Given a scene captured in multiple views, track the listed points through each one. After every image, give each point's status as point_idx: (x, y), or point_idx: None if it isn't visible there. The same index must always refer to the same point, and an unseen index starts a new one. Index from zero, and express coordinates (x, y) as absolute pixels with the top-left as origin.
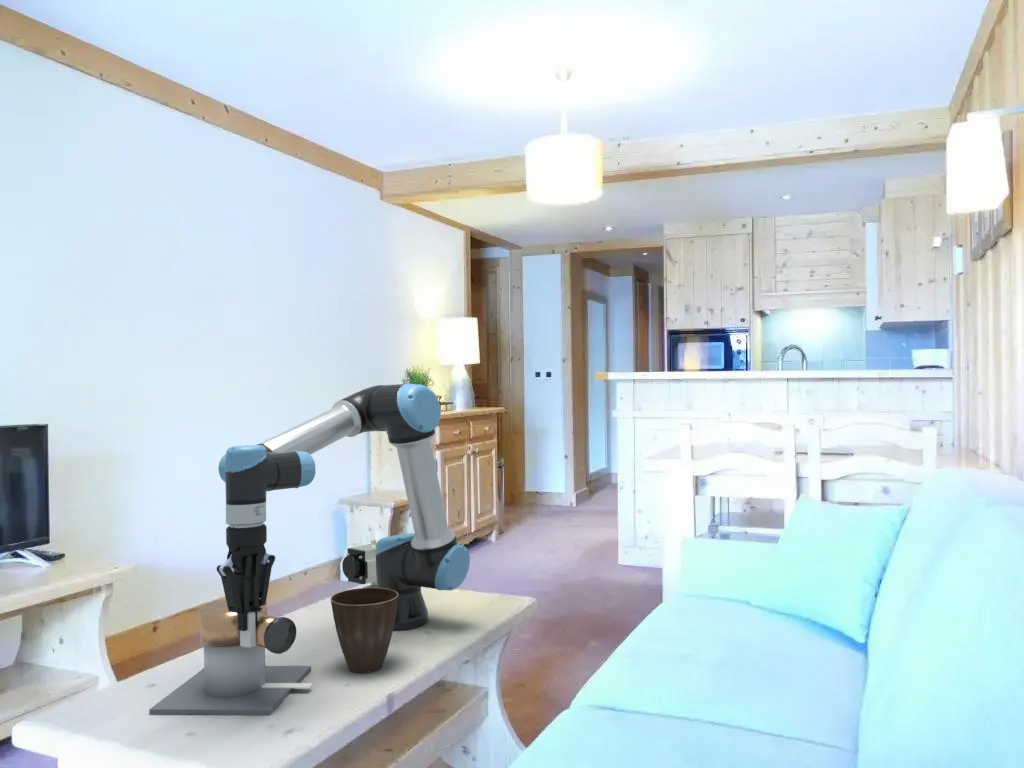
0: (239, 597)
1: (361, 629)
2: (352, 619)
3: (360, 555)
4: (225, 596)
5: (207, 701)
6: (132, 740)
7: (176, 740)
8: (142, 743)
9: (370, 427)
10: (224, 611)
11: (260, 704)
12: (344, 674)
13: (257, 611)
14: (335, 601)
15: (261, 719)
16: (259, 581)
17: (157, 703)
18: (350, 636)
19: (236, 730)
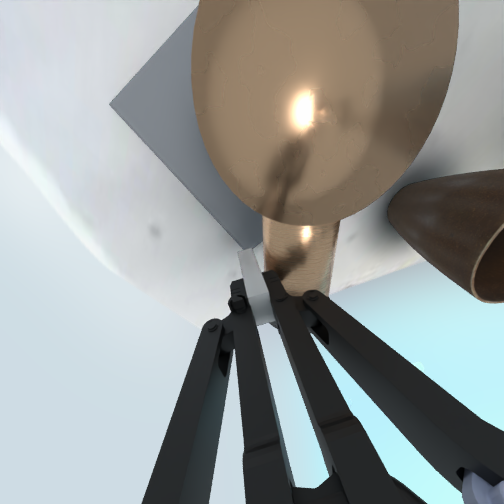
0: (226, 392)
1: (431, 262)
2: (443, 264)
3: None
4: (184, 381)
5: (201, 160)
6: (78, 192)
7: (134, 236)
8: (91, 213)
9: None
10: (276, 124)
11: (248, 230)
12: (377, 205)
13: (334, 221)
14: None
15: (233, 253)
16: (361, 370)
17: (127, 85)
18: (419, 241)
19: (200, 260)
